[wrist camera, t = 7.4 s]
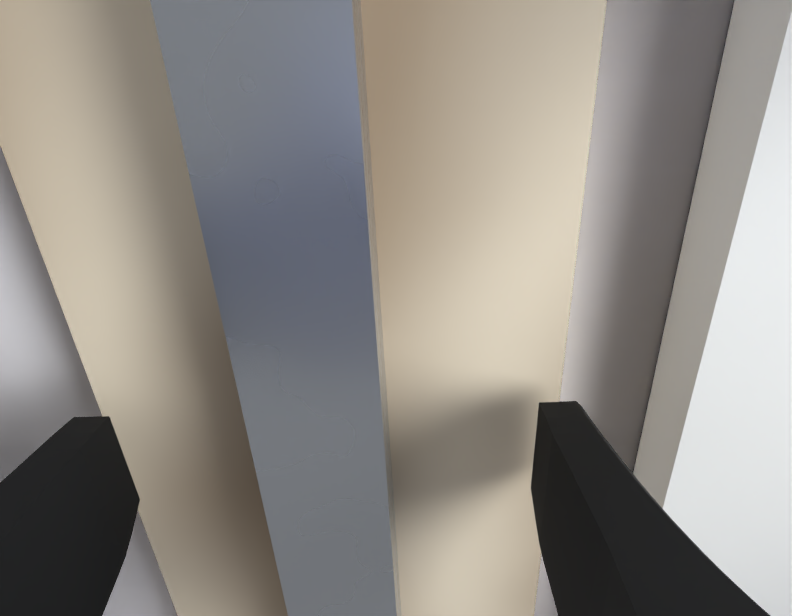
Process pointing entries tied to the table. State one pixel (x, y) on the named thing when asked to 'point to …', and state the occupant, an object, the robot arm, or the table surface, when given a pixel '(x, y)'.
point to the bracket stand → (734, 326)
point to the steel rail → (295, 277)
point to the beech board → (397, 263)
